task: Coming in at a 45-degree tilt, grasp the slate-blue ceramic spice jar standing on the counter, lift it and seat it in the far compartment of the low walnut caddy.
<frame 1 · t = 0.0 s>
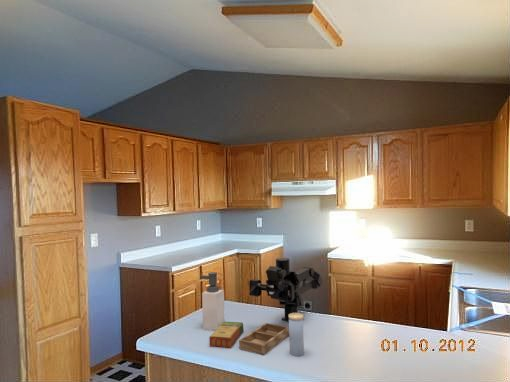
hand: (260, 295, 136), 17 cm above the counter, tool horizontal, fingers open, 9 cm apart
jar: (296, 353, 125), on the counter
soap dispenser: (211, 327, 151), on the counter
caddy: (265, 341, 135), on the counter
carton: (227, 340, 139), on the counter
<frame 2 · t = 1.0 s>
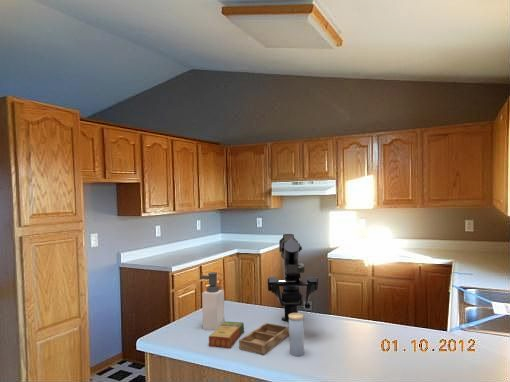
hand: (293, 304, 134), 14 cm above the counter, tool tilted 45°, fingers open, 9 cm apart
nothing on the counter moved.
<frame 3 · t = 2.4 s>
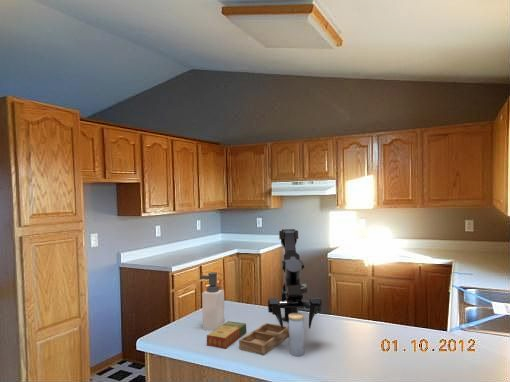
hand: (296, 328, 125), 8 cm above the counter, tool tilted 45°, fingers open, 9 cm apart
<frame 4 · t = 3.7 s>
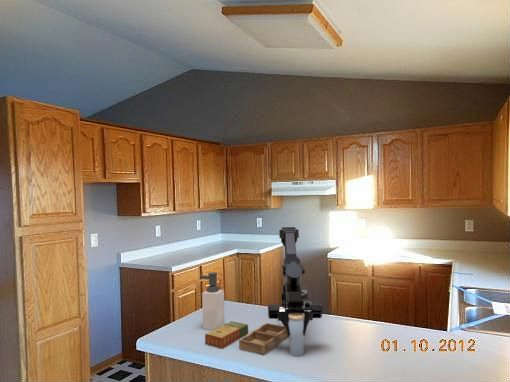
hand: (296, 335, 124), 7 cm above the counter, tool tilted 45°, fingers closed on jar, 5 cm apart
jar: (296, 353, 125), on the counter, touching gripper
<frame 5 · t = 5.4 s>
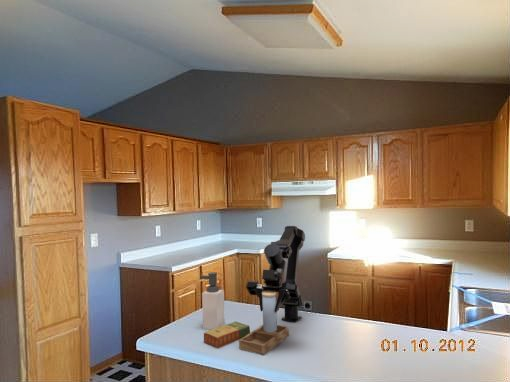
hand: (268, 311, 128), 13 cm above the counter, tool tilted 45°, fingers closed on jar, 5 cm apart
jar: (270, 329, 129), point 7 cm above the counter, touching gripper
when the fingers open (8 cm above the counter, at t = 7.1 s): jar drops 1 cm, resting on caddy.
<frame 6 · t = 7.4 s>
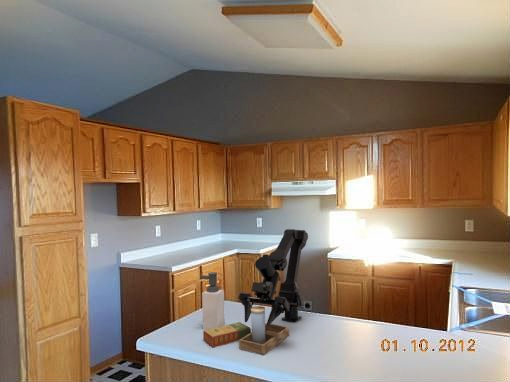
hand: (256, 323, 130), 9 cm above the counter, tool tilted 45°, fingers open, 8 cm apart
jar: (258, 344, 131), point 1 cm above the counter, touching caddy
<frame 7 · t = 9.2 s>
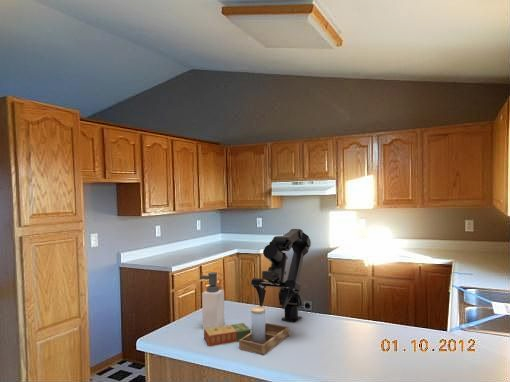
hand: (271, 307, 139), 11 cm above the counter, tool tilted 30°, fingers open, 9 cm apart
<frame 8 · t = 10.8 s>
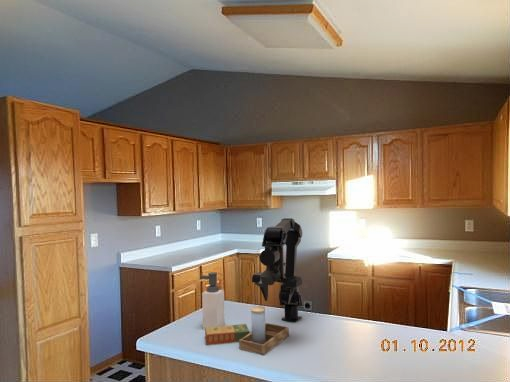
hand: (276, 302, 139), 13 cm above the counter, tool pointing down, fingers open, 9 cm apart
at the end: jar inside the target area on the caddy (0.3 cm from its centre), point 0.6 cm above the caddy's base; jar tilted 0°; the gripper is holding nothing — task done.
